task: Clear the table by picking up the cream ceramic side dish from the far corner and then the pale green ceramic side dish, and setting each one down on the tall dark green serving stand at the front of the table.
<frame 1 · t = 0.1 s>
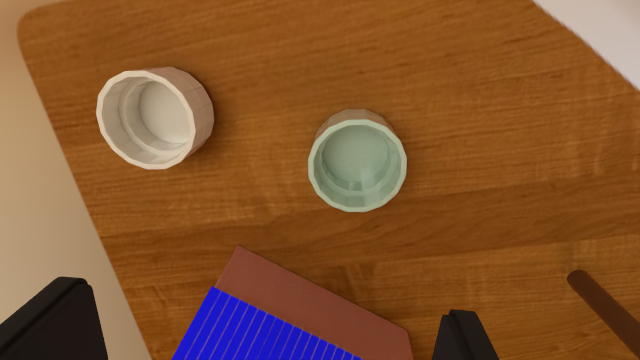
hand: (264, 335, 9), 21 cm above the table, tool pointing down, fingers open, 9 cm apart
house: (298, 325, 37), on the table
dish b: (354, 150, 29), on the table
dish a: (174, 110, 29), on the table
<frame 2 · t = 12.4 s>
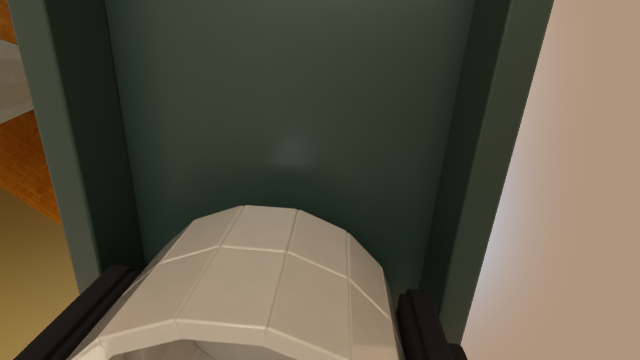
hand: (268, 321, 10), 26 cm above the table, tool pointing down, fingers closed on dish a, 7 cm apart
disposable coffee cup: (21, 76, 35), on the table
tray: (285, 146, 10), on the table
dish a: (274, 302, 11), point 26 cm above the table, touching gripper
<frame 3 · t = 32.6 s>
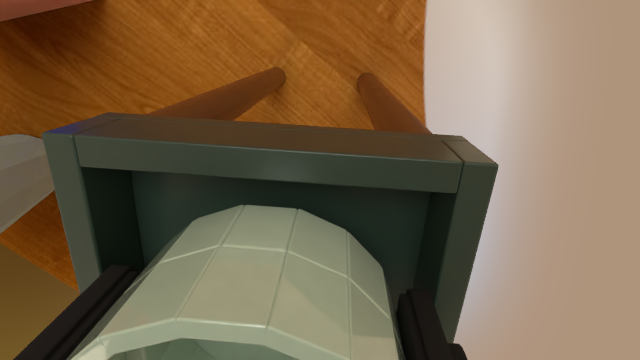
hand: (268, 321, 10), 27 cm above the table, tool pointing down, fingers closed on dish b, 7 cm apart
disposable coffee cup: (40, 162, 38), on the table
dish b: (274, 301, 11), point 26 cm above the table, touching gripper
when the fingers open (27 cm above the table, at t = 39.0 s): dish b drops 2 cm, resting on tray.
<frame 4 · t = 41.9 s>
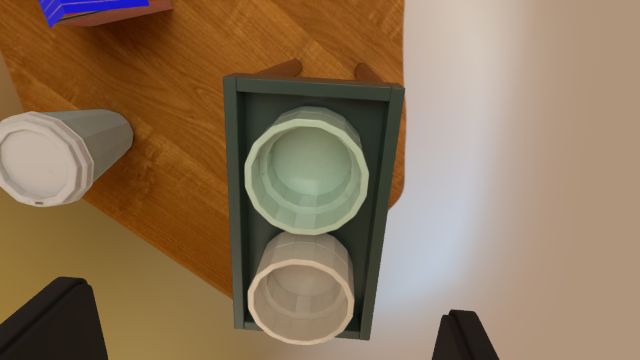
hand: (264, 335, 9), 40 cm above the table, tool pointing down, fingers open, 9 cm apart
disposable coffee cup: (115, 131, 50), on the table
dish b: (312, 156, 24), point 25 cm above the table, touching tray
tray: (309, 210, 26), on the table
dish a: (306, 264, 27), point 25 cm above the table, touching tray
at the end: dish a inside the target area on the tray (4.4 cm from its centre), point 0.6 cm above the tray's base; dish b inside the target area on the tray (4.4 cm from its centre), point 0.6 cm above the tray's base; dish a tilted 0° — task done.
